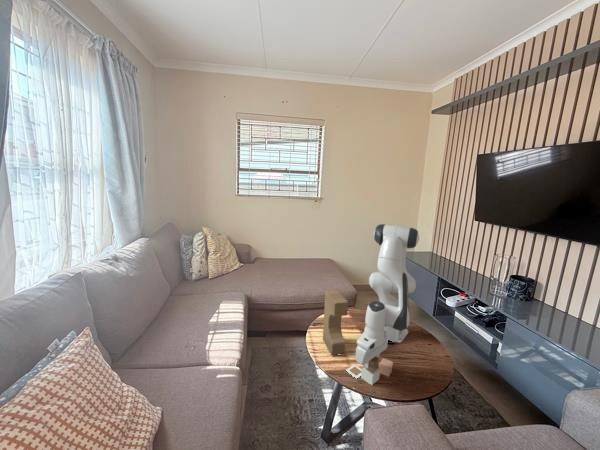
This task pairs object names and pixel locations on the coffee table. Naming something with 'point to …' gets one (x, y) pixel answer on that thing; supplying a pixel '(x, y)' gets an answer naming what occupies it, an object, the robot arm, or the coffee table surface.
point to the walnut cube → (373, 364)
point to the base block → (370, 375)
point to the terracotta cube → (385, 367)
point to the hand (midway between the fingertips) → (371, 364)
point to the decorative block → (334, 321)
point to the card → (354, 371)
